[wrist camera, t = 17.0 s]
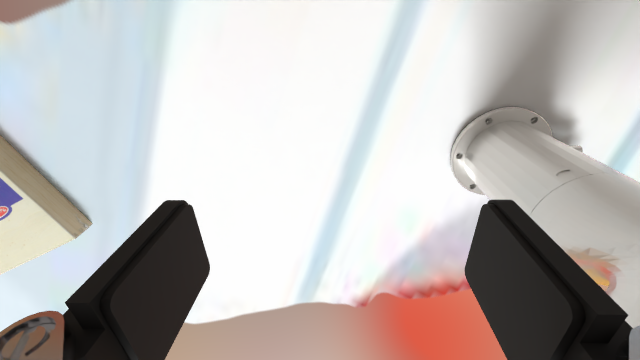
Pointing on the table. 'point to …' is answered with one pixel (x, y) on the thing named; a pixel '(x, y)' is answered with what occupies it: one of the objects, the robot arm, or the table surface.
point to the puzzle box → (31, 212)
